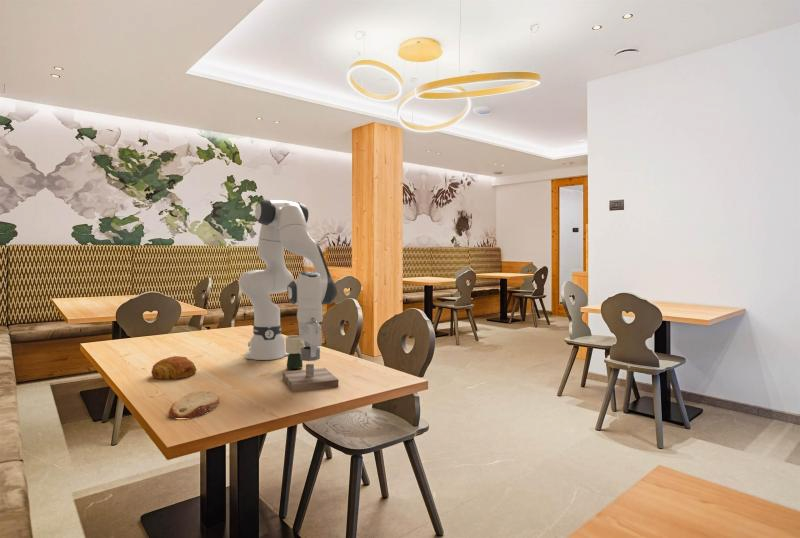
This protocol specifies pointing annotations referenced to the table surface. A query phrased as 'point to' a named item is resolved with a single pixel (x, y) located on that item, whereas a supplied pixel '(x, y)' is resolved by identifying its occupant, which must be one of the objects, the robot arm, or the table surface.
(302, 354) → the steel ring
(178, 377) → the croissant
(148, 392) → the table surface
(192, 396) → the bread slice
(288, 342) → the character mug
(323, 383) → the post stand
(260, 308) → the robot arm
